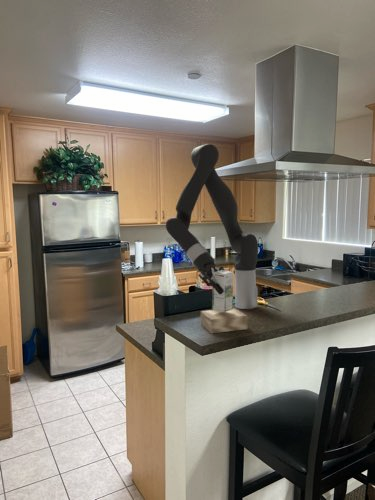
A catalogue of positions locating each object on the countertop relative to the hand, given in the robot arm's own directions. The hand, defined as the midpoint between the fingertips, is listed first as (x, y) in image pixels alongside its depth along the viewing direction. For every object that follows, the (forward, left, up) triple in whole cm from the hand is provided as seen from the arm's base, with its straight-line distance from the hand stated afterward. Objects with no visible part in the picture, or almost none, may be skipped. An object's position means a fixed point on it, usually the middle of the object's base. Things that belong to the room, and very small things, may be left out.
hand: (226, 291), depth 134 cm
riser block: (+1, -1, -14) cm, 14 cm away
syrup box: (+1, -2, -7) cm, 8 cm away
